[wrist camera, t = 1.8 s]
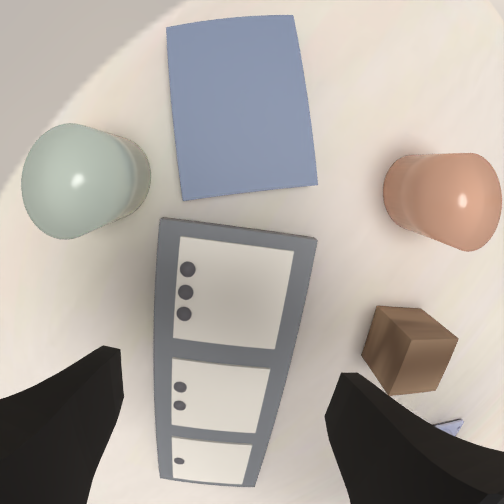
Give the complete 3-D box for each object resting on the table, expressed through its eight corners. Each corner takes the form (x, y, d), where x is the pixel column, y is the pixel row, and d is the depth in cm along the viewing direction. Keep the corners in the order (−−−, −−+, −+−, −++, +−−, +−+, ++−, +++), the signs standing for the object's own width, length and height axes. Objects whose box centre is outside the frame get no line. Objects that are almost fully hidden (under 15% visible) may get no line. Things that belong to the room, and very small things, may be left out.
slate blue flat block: (307, 183, 18) (317, 185, 16) (189, 197, 18) (182, 201, 16) (286, 31, 16) (293, 15, 13) (173, 43, 15) (166, 27, 13)
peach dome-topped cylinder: (435, 235, 19) (491, 256, 13) (376, 223, 19) (429, 244, 13) (446, 166, 18) (506, 168, 12) (389, 146, 17) (445, 140, 12)
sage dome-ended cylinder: (146, 223, 18) (109, 246, 12) (74, 215, 17) (20, 233, 11) (156, 139, 17) (121, 123, 11) (82, 136, 16) (27, 125, 10)
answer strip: (253, 481, 24) (254, 489, 23) (161, 471, 23) (159, 480, 22) (314, 237, 18) (319, 241, 17) (162, 217, 18) (158, 220, 17)
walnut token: (404, 354, 21) (435, 390, 16) (361, 355, 21) (388, 395, 16) (420, 308, 20) (458, 338, 16) (376, 305, 20) (411, 339, 15)
